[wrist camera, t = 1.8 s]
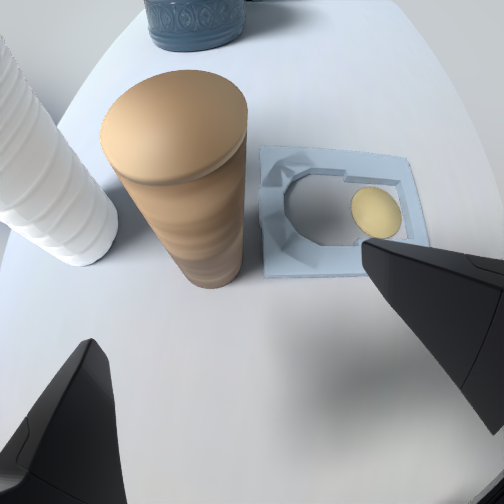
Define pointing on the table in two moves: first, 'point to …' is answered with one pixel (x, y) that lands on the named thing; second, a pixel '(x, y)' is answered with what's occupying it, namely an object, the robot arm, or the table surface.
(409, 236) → the keyhole plate
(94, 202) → the water bottle
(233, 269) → the tan peg
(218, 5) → the canister
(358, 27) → the table surface
